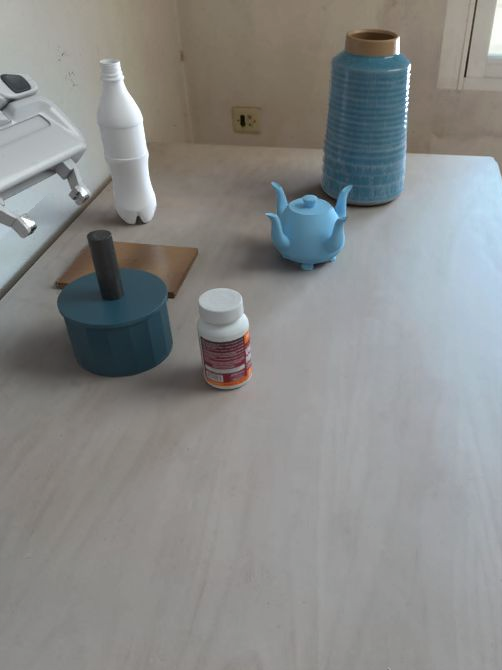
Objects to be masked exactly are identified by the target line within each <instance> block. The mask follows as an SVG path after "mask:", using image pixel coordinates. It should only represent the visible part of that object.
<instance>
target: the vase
mask: <svg viewBox="0 0 502 670" xmlns="http://www.w3.org/2000/svg"><path fill="white" fill-rule="evenodd" d="M400 39H401V37H400V35H399V33H398V32H394V31H391V30H387V29H381V28H380V29H379V28H358V29H353V30H352V29H351V30H349V31H347V32H346V34H345V40H344V49H342V50H340V51H339V52H338V53H336V54H335V55H333V57H332V58H331V60H330V70H329V72H330V74H329V83H328V84H329V85H328V97H327V109H326V119H325V134H324V140H323V149H322V152H323V154H322V165H321V177H320V186H321V189H322V191H323V192H324V193H325V194H326V195H327V196H328V197H330V198H332V199H333V200H335V201H337V200H338V197H339V194H340V192H341V191H342V190H343V189H344V188H345V187H346V186H349V185H352V186H353V187H352V188H351V190H350V191H349V193H348V195H347V199H346V205H347V204H348V205H351V206H359V207H370V206H371V207H372V206H373V207H374V206H379V205H383V204H384V205H385V204H387V203H389V202H391V201H394V200H395V199H397V198H399V197H400V196H401V195H402V194H403V193H404V190H405V176H406V165H407V160H406V159H407V158H406V157H407V147H408V144H407V141H408V138H407V137H408V124H409V122H408V120H409V108H410V107H409V104H410V87H411V83H410V82H411V70H412V63H411V60H410V59H409V58H407V56H405V54H403V52H401V51H400V44H401V43H400V42H401V41H400Z"/></svg>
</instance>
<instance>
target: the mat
mask: <svg viewBox="0 0 502 670" xmlns="http://www.w3.org/2000/svg"><path fill="white" fill-rule="evenodd" d="M113 243H114V248H115V252H116V257H117V262H118V266H119V268H128V269H138V270H143V271H146V272H149V273H152V274H154V275H156V276H158V277H159V278H160V279H161V280H162V281H163V282H164V283H165V285H166V287H167V291H168V297H167V299H175V298H176V296H177V294H178V293H179V291H180V288H181V287H182V285H183V283H184V282H185V280H186V278H187V276H188V274H189V272H190V270H191V269H192V268H193V265H194V264H195V261H196V259H197V258H198V256H199V254H200V253H199V248H198V247H189V246H177V245H164V244H152V243H139V242H127V241H126V242H125V241H115V240H113ZM93 272H95V269H94V264H93V260H92V256H91V252H90V248H89V244H88V243H87V245H86V246H85V248H84V249H83V250H82V251H81V253H79V255H78V256H77V257H76V258H75V260H74V261H73V262H72V263H71V264H70V265H69V266H68V268H67V269H66V270H65V272H64V273H63V274H62V275H61V277H60V278H59V279H58V280H57V282H56V285H57V288H58V289H61V290H63V289H64V287H66V286H67V285H68V284H69V283H71V282H72V281H74V280H76V279H78V278H80V277H82V276H84V275H87V274H90V273H93Z"/></svg>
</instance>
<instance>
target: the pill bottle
mask: <svg viewBox="0 0 502 670" xmlns="http://www.w3.org/2000/svg"><path fill="white" fill-rule="evenodd" d="M197 307H198V314H199V318H198V319H197V322H196V330H197V338H198V345H199V352H200V357H201V366H202V373H203V377H204V380H205V382H206V383H207V385H209V386H211V387H213V388H215V389H219V390H233V389H237V388H241V387H243V386H244V385H246V384H247V383H248V382H249V381H250V380H251V378H252V375H253V366H252V365H253V364H252V350H251V335H250V324H249V323H250V322H249V319H248V316H247V315H246V314H245V313H244V301H243V296H242V295H241V294H240V293H239V291H237V290H234V289H231V288H227V287H226V288H225V287H218V288H211V289H208V290H206V291H204V292H203V293H202V294H200V295H199V297H198V299H197Z"/></svg>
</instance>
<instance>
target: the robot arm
mask: <svg viewBox="0 0 502 670" xmlns="http://www.w3.org/2000/svg"><path fill="white" fill-rule="evenodd" d="M38 90H39V87H38V84H37V83H36V81H35V80H34V79H33V77H31V76H30V75H28V74H26V73H20V72H3V71H0V224H1V225H4V226H6V227H9V228H11V229H12V230H13V231H14V232H15V233H16V234H17V235H18V236H19V237H20V238H22V239H25V238H27V237H29V236H31V235H32V234H34V233H35V231H36V230H37V228H38V226H37V223H36V221H34V220H32V218H31V217H30V216H29V215H28V214H27V213H23V214H18V213H17V212H15V211H13V210H11V209H9V208H7V207H5V206H6V200H8V199H10V198H11V197H13V196H16V195H17V194H19V193H21V192H24V191H25V190H27V189H29V188H31V187H33V186H35V185H37V184H39V183H41V182H43V181H44V180H47V179H49V178H51V177H52V176H54V175H56V174H57V175H58V176H59V177H60V178H61V180H64V181H65V180H67V182H68V185H69V187H70V191H69V193H68V196H69V198H71V200H72V201H74V203H75V204H76V205H77V206H81V205H83V204H86V203H87V202H88V201H90V199H91V198H92V195H93V194H92V192H91V190H90V189H89V188H88V186H86V185H85V184H84V183H83V182H84V181H83V178H82V175H81V172H80V168H79V165H77V163H79V161H80V160H81V158H82V157H83V156H84V154H85V153H86V151H87V142H86V138H85V137H84V135H83V134H82V132H81V131H80V129H79V128H77V126H76V125H75V123H73V121H71V119H70V118H69V117H68V116H67V115H66V114H65V113H64V112H63V111H62V109H60V107H58V106H57V104H55V103H54V102H53V101H52V100H51V99H49V98H47V97H46V96H44V95H40V94H37V93H38Z"/></svg>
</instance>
